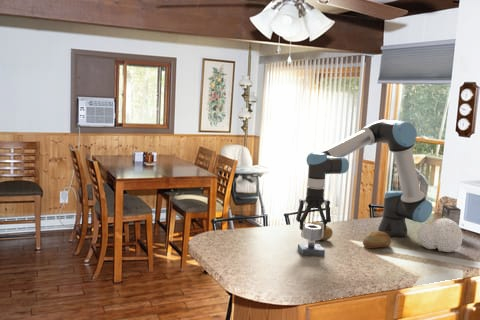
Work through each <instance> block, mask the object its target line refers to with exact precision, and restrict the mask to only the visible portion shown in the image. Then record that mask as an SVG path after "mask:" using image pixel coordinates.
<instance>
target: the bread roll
mask: <svg viewBox="0 0 480 320" xmlns="http://www.w3.org/2000/svg"><path fill="white" fill-rule="evenodd" d="M391 243H392V239H391V236H389V234H387V233H385V232H382V231H378V230H372V231H369V232H367V234H365V236H364V238H363V241H362V245H363V247H365V248H366V249H376V248H378V249H379V248H385V247H389V246H390V245H391Z"/></svg>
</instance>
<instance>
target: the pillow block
mask: <svg viewBox="0 0 480 320" xmlns="http://www.w3.org/2000/svg"><path fill="white" fill-rule="evenodd" d="M297 251H298V252H299V254H300V255H301V256H302V257H303V256H308V257H309V256H311V258H312V256H313V257H315V256H316V257H323V258H324V257H325V253H326V250H325V248H324V247H322V246H321V244H320V243H316V240H308V239H307V243H297ZM308 257H307V258H308ZM316 257H315V258H316ZM309 258H310V257H309Z"/></svg>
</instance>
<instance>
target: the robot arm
mask: <svg viewBox="0 0 480 320" xmlns="http://www.w3.org/2000/svg"><path fill="white" fill-rule="evenodd" d="M417 136H418V132H417V129H416V127H415V126H414V124H413V123H411V122H409V121H405V120H397V119H396V120H394V119H393V120H392V119H380V120H377V121H374V122H372V123H370V124H368V125H365V126H363V127H362V128H361V129H360V130H359V131H358V132H356V133H354V134H352V135H350V136H349V137H347V138H344V139H343V140H340V141H338V142H336V143H334V144H332V145H331V146H329V147H326V148H325V149H323V150H320V151H318V152H316V151H315V152H310V153H309V154H308V155H307V156H306V165H308V170H307V171H308V173H307V188H306V197H305V198H303V199H301V198H299V205H298V210H297V214H296V217H295V220H296V221H297V222H298V223H299V230H300V232H301V234H300V236H301V238H303V239H304V234H305V225H306V222H305V221H306V219H307V217H308V215H309V213H310V211H311V210H312V209H317V210H318V212H319V216H320V218H321V221H322V222H320V223H321V227H322V238H323V233H324V230H326V226H327V224H328V223H331V221H332V220H331V208H330V205H331V201H330V200H329V199H325V198H324V196H325V185H326V184H325V183H326V175H333V174H334V175H337V174H338V175H341V174H346V173H347V172H348V170H349V167H350V166H349V165H350V163H349V160H348V159H347V158H346V157H347V156H348V155H350V154H352V153H355V152H356V151H358V150H360V149H362V148H364V147H366V146H373V145H374V144H378V143H380V144H381V143H383V144H387V146H388V149H389V152H390V153H393V158H394V161H395V165H396V170H397V174H398V180H399V182H400V184H399V185H400V187H401V190H389V191H385V193H384V197H383V208H382V209H383V211H382V218H381V220H380V223H379V225H378V227H377V231H382V232H385V233H387V234H389V236H390V237H394V238H395V237H396V238H403V237H407V236H408V232H409V231H408V228H407V223H406V220H410V221H413V222H415V223H416V222H417V223H422V224H423V223H424V222H426V221H428V220H429V218H431V215H432V213H433V204H432V202H431V201H429V200H427V199H426V195H425V192H423V191H422V190H421V186H420V183H419V178H418V173H417V169H416V164H415V159H414V155H413V150H412V149H413V148H414V147H415V143H416V141H417V139H416V138H417ZM305 204H307V205H306V207H305V209H304V205H305ZM323 204H324V209H325V214H324V210H323V207H322V205H323ZM303 210H304V211H303ZM302 213H303V214H302Z"/></svg>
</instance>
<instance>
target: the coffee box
mask: <svg viewBox="0 0 480 320" xmlns="http://www.w3.org/2000/svg"><path fill="white" fill-rule="evenodd" d="M441 209H442V210H441V218H442V219H443V218H447V219H450V220H452V221H454V222H456V223H457V224H458V225H459V226H460V220H461V213H462V212H461V210H462V209H460V208H459V207H457V206H455V205H450V204H449V205H446V204H444V205H443V204H442V208H441Z"/></svg>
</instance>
